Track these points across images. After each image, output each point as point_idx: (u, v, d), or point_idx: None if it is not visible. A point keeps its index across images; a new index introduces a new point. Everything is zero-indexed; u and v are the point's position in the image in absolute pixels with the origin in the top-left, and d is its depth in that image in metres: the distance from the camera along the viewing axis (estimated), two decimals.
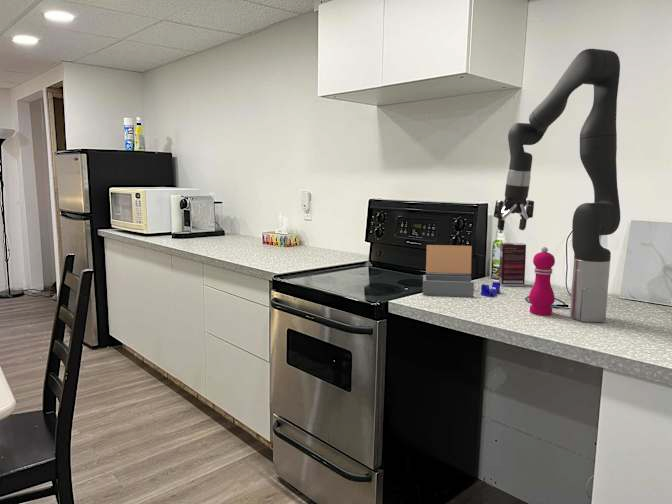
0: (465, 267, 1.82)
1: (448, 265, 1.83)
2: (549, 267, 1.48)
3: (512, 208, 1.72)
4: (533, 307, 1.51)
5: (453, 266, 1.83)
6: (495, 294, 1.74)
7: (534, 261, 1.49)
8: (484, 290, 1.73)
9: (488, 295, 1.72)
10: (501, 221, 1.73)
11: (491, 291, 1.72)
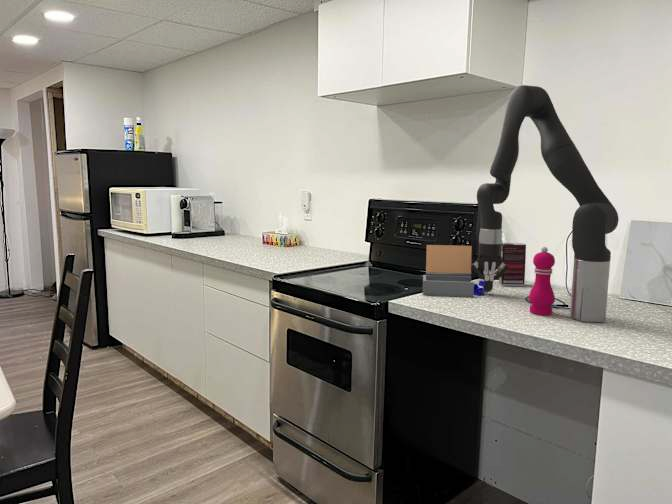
0: (465, 267, 1.82)
1: (448, 265, 1.83)
2: (549, 267, 1.48)
3: (486, 266, 1.73)
4: (533, 307, 1.51)
5: (453, 266, 1.83)
6: (483, 293, 1.76)
7: (534, 261, 1.49)
8: None
9: (477, 294, 1.74)
10: (485, 282, 1.75)
11: (480, 290, 1.74)
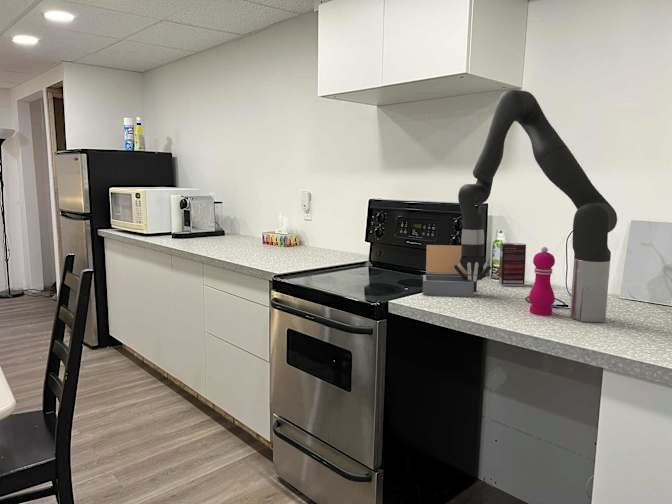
0: None
1: (448, 265, 1.83)
2: (549, 267, 1.48)
3: (469, 267, 1.73)
4: (533, 307, 1.51)
5: (453, 266, 1.83)
6: None
7: (534, 261, 1.49)
8: None
9: None
10: None
11: None
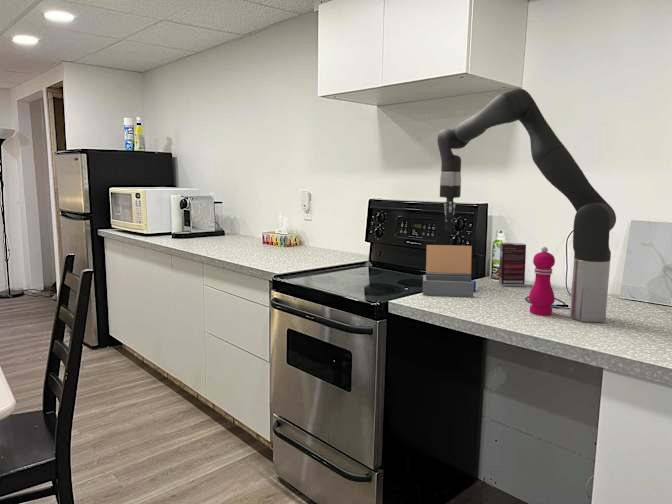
0: (465, 267, 1.82)
1: (448, 265, 1.83)
2: (549, 267, 1.48)
3: None
4: (533, 307, 1.51)
5: (453, 266, 1.83)
6: None
7: (534, 261, 1.49)
8: None
9: None
10: None
11: None
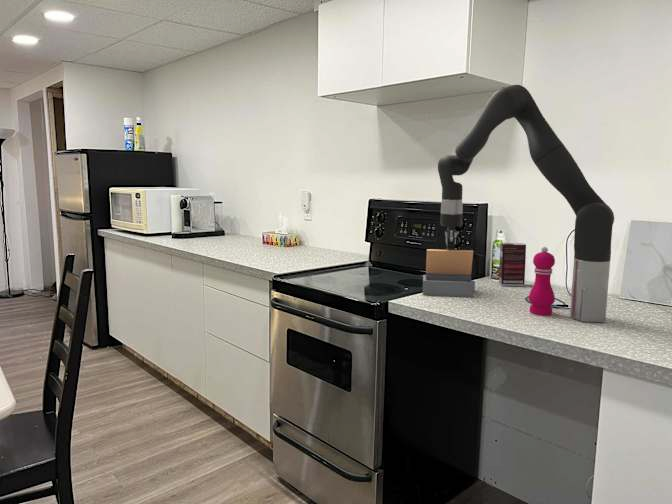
0: (465, 269, 1.81)
1: (448, 267, 1.81)
2: (549, 267, 1.48)
3: None
4: (533, 307, 1.51)
5: (454, 268, 1.81)
6: None
7: (534, 261, 1.49)
8: None
9: None
10: None
11: None
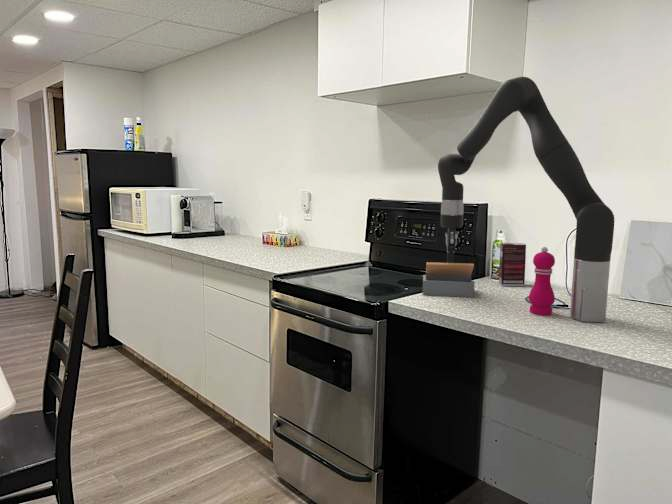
0: (465, 273, 1.80)
1: (448, 272, 1.80)
2: (549, 267, 1.48)
3: None
4: (533, 307, 1.51)
5: (454, 272, 1.81)
6: None
7: (534, 261, 1.49)
8: None
9: None
10: None
11: None
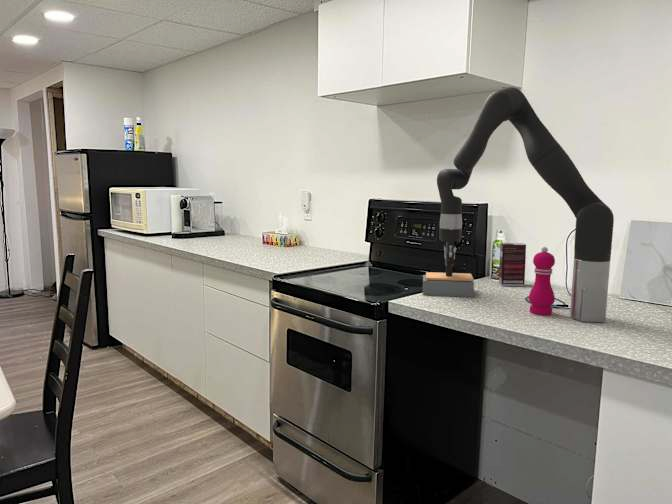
0: None
1: None
2: (549, 267, 1.48)
3: None
4: (533, 307, 1.51)
5: None
6: None
7: (534, 261, 1.49)
8: None
9: None
10: None
11: None
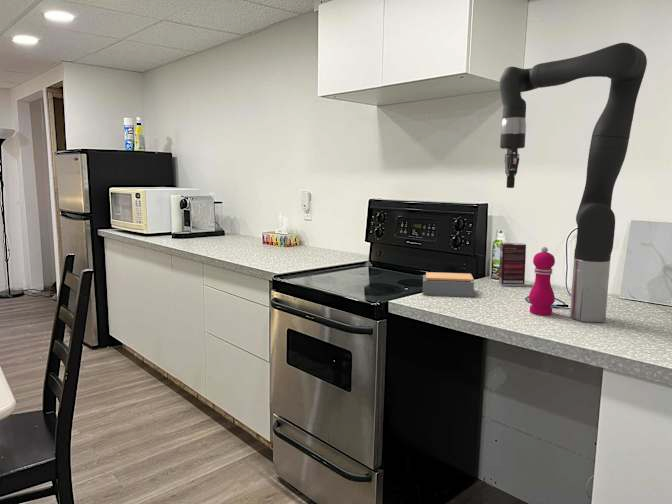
0: None
1: None
2: (549, 267, 1.48)
3: (505, 160, 1.64)
4: (533, 307, 1.51)
5: None
6: None
7: (534, 261, 1.49)
8: None
9: None
10: None
11: None
